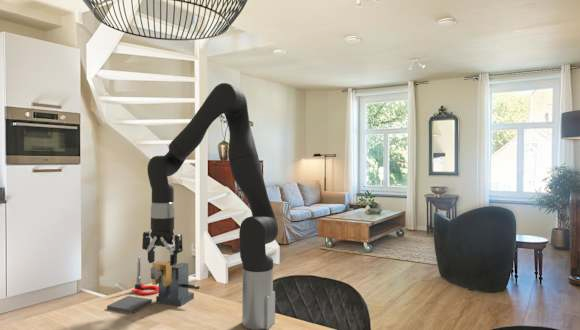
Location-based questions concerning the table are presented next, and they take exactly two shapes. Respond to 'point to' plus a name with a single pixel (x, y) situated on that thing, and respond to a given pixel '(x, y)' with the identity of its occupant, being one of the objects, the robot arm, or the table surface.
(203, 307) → the table surface
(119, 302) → the rubber mat
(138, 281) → the tow hook
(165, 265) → the ochre slotted block
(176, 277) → the vise
